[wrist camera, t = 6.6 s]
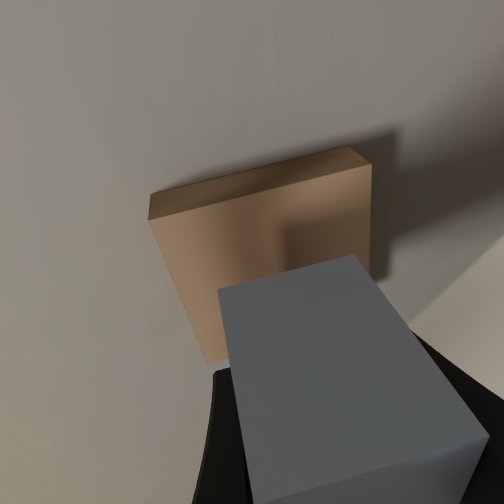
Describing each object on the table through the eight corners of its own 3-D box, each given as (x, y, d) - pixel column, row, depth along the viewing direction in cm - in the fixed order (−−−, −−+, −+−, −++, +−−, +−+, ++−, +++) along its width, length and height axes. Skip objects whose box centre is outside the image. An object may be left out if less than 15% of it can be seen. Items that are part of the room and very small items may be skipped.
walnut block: (343, 141, 15) (371, 163, 13) (347, 286, 19) (368, 319, 17) (150, 190, 14) (147, 220, 12) (202, 325, 19) (206, 363, 17)
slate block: (353, 253, 11) (489, 436, 7) (353, 344, 14) (451, 522, 9) (217, 289, 11) (254, 505, 6) (242, 374, 14) (283, 573, 9)
